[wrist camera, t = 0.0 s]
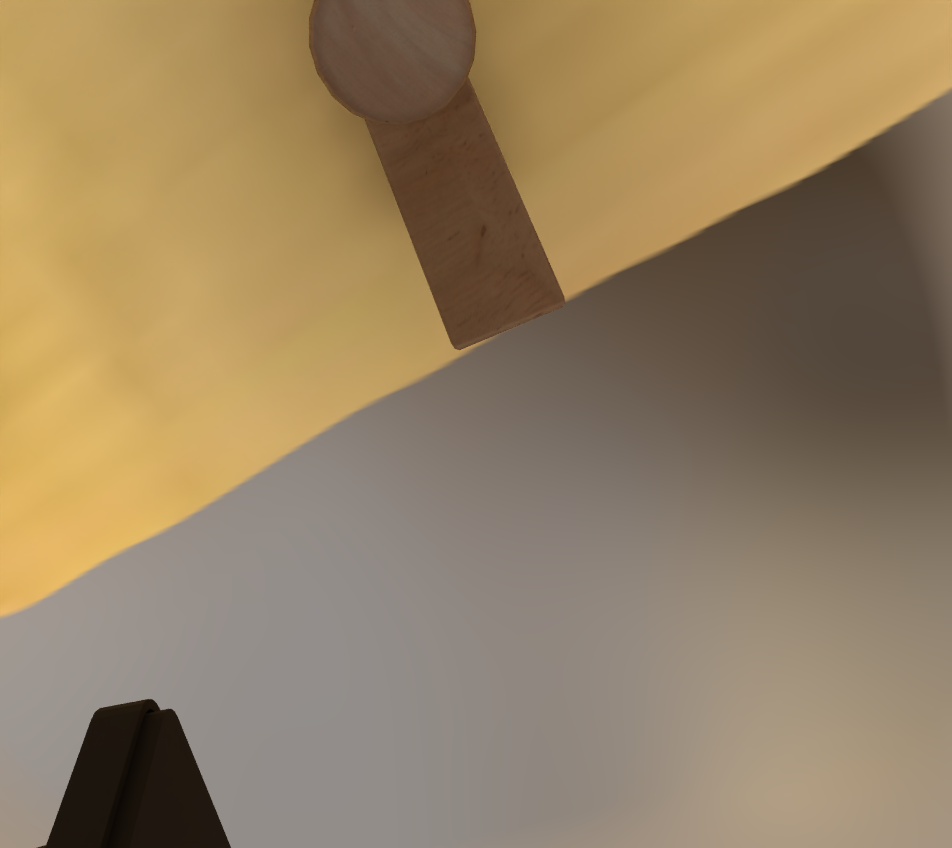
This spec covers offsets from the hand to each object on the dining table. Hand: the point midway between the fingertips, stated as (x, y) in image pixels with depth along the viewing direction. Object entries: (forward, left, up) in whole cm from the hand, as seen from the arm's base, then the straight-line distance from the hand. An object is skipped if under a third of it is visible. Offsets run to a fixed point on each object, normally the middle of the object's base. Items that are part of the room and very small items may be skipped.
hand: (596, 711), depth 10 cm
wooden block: (-3, 0, -32) cm, 32 cm away
